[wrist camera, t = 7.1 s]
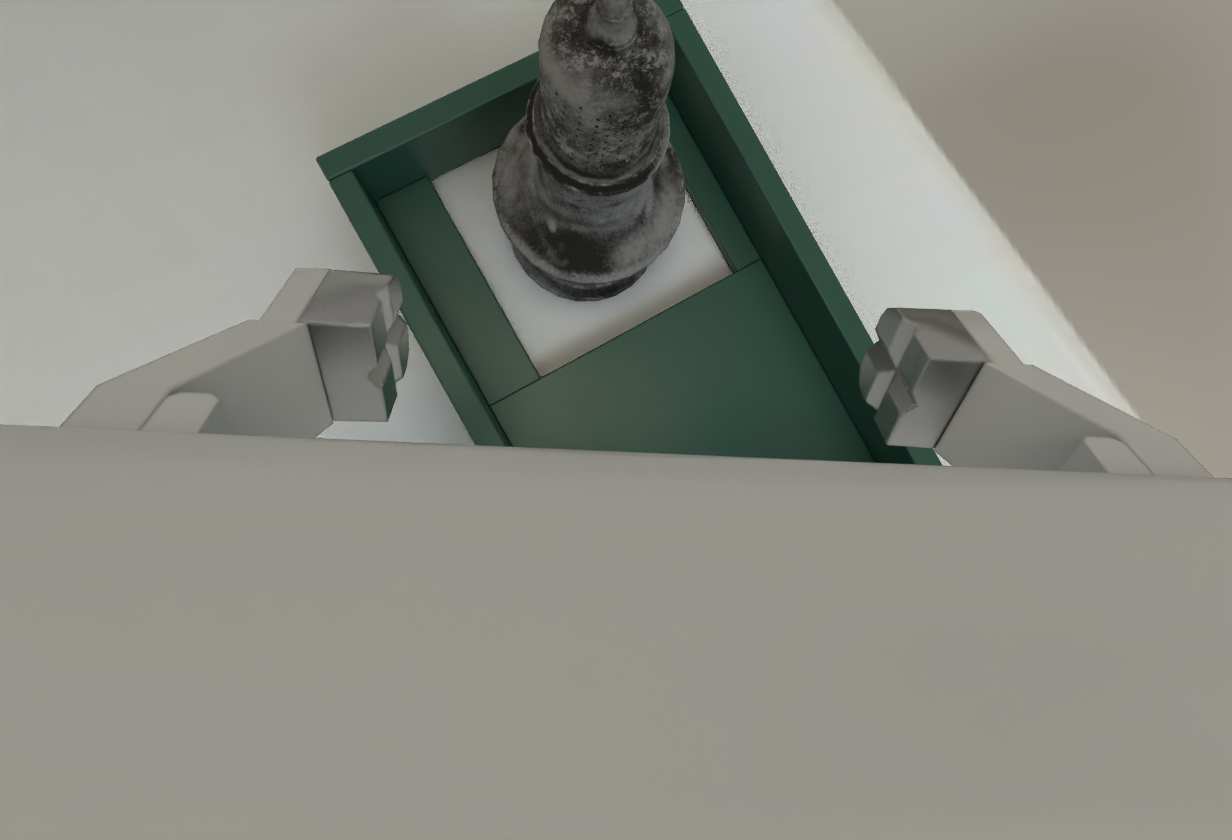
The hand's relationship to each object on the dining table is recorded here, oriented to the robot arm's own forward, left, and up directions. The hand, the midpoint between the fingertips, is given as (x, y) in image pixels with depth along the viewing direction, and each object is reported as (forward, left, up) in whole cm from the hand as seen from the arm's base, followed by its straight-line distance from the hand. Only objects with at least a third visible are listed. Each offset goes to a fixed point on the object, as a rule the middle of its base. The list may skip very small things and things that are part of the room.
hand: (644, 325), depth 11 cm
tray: (0, -2, -12) cm, 12 cm away
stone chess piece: (+5, -2, -12) cm, 14 cm away
